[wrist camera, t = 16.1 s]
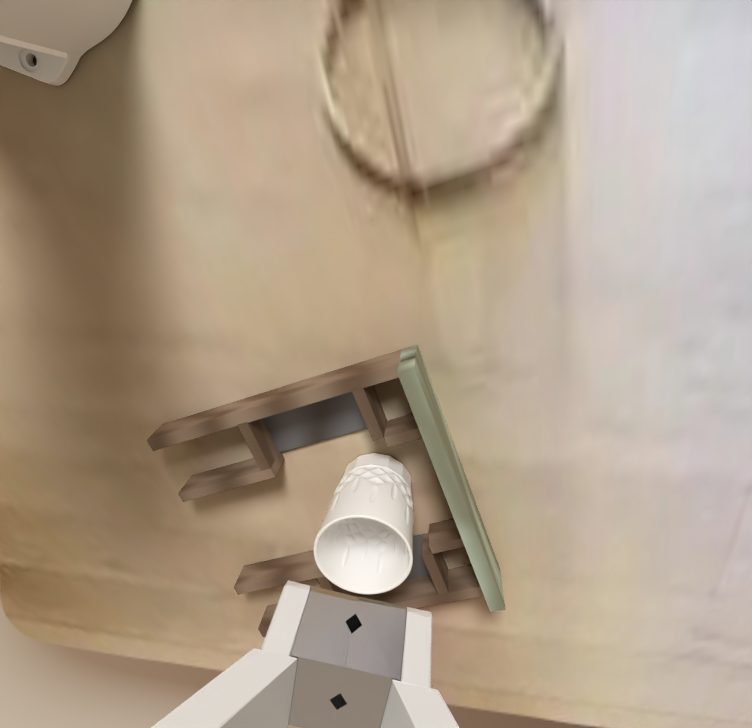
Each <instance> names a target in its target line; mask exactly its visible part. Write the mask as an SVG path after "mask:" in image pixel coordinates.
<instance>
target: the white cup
mask: <svg viewBox="0 0 752 728" xmlns="http://www.w3.org/2000/svg"><path fill="white" fill-rule="evenodd" d="M314 558H315V561H316V564H317V566H318V568H319V569H320V571H321V572H322V574H323V575H324V576H325V577H326V578H327V579H328V580H329V581H331V582H332V583H333V584H335V585H336V586H338V587H340V588H342V589H344V590H347V591H350V592H353V593H358V594H379V593H384V592H387V591H390V590H392V589H394V588H396V587H397V586H399V585H400V584H401V583H402V582H403V581H404V580H405V579H406V578H407V576H408V575H409V573H410V571H411V568H412V563H413V499H412V483H411V476H410V474H409V473H408V471H407V470H406V468H405V466H404V465H403V464H402V463H400V462H399V461H397V460H396V459H394V458H393V457H391V456H389V455H383V454H378V453H371V454H366V455H362V456H358V457H357V458H356V459H354V460H353V461H352V462H351V463H349V464H348V465H347V467H346V469H345V472H344V474H343V477H342V479H341V481H340V483H339V485H338V486H337V488H336V490H335V492H334V494H333V496H332V499H331V502H330V504H329V507H328V509H327V512H326V514H325V517H324V519H323V522H322V524H321V527H320V529H319V532H318V534H317V537H316V539H315V542H314Z"/></svg>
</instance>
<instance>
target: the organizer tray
mask: <svg viewBox="0 0 752 728" xmlns="http://www.w3.org/2000/svg"><path fill="white" fill-rule="evenodd" d="M395 378H399V379H400V382H401V384H402V387H403V389H404V392H405V395H406V397H407V400H408V402H409V405H410V407H411V410H412V413H413V414H410V415H407V416H403V417H400V418H396V419H392V420H389V421H387V419H386V417H385V414H384V412H383V409H382V407H381V404H380V402H379V400H378V397H377V395H376V392H375V390H374V387H373V385H375V384H379V383H382V382H385V381H389V380H392V379H395ZM235 426H238V427H239V429H240V431H241V433H242V435H243V437H244V439H245V441H246V443H247V445H248V447H249V449H250V451H251V453H252V454H253V456H254V458H253V459H249V460H246V461H242V462H239V463H235V464H232V465H228V466H224V467H221V468H217V469H214V470H210V471H207V472H203V473H199V474H196V475H192V476H191V478H190V479H189V480H188V482H187V483H186V484H185V486H184V487H183V488H182V489H181V491H180V492H179V493H178V494H179V496H180V497H181V499H182V501H183V502H185V501H189V500H192V499H196V498H200V497H204V496H207V495H211V494H215V493H219V492H222V491H226V490H230V489H234V488H237V487H241V486H245V485H249V484H252V483H256V482H260V481H264V480H267V479H271V478H275V477H276V475H277V473H278V471H279V469H280V467H281V465H282V463H283V461H284V457H283V455H282V453H281V452H283V451H287V450H290V449H294V448H297V447H301V446H305V445H308V444H312V443H315V442H319V441H322V440H326V439H330V438H333V437H337V436H340V435H344V434H348V433H351V432H355V431H358V430H362V429H365V428H368V430H369V433H370V435H371V437H372V440H377V439H381V438H384V439H385V442H386V444H387V447H391V446H395V445H399V444H402V443H406V442H410V441H414V440H417V439H421V438H423V441H424V443H425V446H426V448H427V451H428V454H429V456H430V459H431V461H432V464H433V466H434V469H435V472H436V474H437V477H438V479H439V482H440V484H441V487H442V490H443V492H444V495H445V497H446V500H447V502H448V505H449V507H450V510H451V513H452V515H453V518H454V519H451V520H447V521H442V522H438V523H433V524H430V528H429V533H427V534H423V535H418V536H414V537H413V563H412V568H411V571H410V573H409V575H408V576H407V578H406V579H405V580H404V581H403V582H402V583H401V584H400V585H399V586H397V587H396V588H394V589H392V590H390V591H387V592H384V593H379V594H358V593H353V592H350V591H347V590H344V589H342V588H340V587H338V586H336V585H335V584H333V583H332V582H331V581H329V580H328V579H327V578H326V577H325V576H324V575H323V574H322V572H321V571H320V569H319V568H318V566H317V564H316V561H315V558H314V550H313V551H309V552H304V553H300V554H295V555H291V556H286V557H282V558H277V559H273V560H269V561H264V562H260V563H255V564H251V565H246V566H244V567H243V569H242V571H241V573H240V575H239V578H238V580H237V582H236V584H235V586H234V589H235V590H236V592H237V594H238V595H239V594H244V593H248V592H253V591H258V590H263V589H267V588H272V587H277V586H282V585H285V584H286V583H287V581H288V580H289V581H293V582H301V581H305V580H310V579H315V578H317V580H318V582H319V584H320V585H321V587H322V588H323V589H327V590H331V591H335V592H339V593H343V594H347V595H351V596H356V597H363V598H368V599H373V600H377V601H382V602H387V603H392V604H397V605H402V606H406V607H410V608H415V609H416V608H422V607H427V606H433V605H438V604H443V603H449V602H454V601H460V600H465V599H470V598H476V597H481V596H484V597H485V600H486V602H487V605H488V608H489V610H490V612H494V611H499V610H505V603H504V596H503V588H502V581H501V573H500V568H499V565H498V563H497V560H496V557H495V554H494V552H493V549H492V546H491V544H490V541H489V538H488V535H487V533H486V530H485V527H484V525H483V522H482V519H481V516H480V514H479V511H478V508H477V506H476V503H475V500H474V497H473V495H472V492H471V489H470V487H469V484H468V481H467V478H466V476H465V473H464V470H463V468H462V465H461V462H460V459H459V457H458V454H457V451H456V449H455V446H454V443H453V440H452V438H451V435H450V432H449V430H448V427H447V424H446V421H445V419H444V416H443V413H442V411H441V408H440V405H439V402H438V400H437V397H436V394H435V392H434V389H433V386H432V384H431V381H430V378H429V375H428V373H427V370H426V367H425V365H424V362H423V359H422V356H421V354H420V351H419V348H418V346H417V345H415V346H412V347H409V348H406V349H402V350H399V351H396V352H393V353H390V354H386V355H383V356H380V357H377V358H374V359H370V360H367V361H364V362H361V363H358V364H354V365H351V366H348V367H345V368H342V369H338V370H335V371H332V372H329V373H326V374H322V375H319V376H316V377H313V378H309V379H306V380H303V381H300V382H297V383H293V384H290V385H287V386H284V387H281V388H277V389H274V390H271V391H268V392H265V393H261V394H258V395H255V396H252V397H249V398H245V399H242V400H239V401H236V402H233V403H229V404H226V405H223V406H220V407H217V408H213V409H210V410H207V411H204V412H201V413H197V414H194V415H191V416H188V417H185V418H181V419H178V420H175V421H172V422H169V423H165V424H163V425H162V426H161V427H160V428H159V429H158V430H157V431H156V432H155V433H154V434H153V435H152V436H151V437H149V438H148V439H147V441H148V443H149V445H150V446H151V448H152V450H153V451H155V450H158V449H162V448H165V447H168V446H172V445H175V444H178V443H182V442H185V441H188V440H192V439H195V438H198V437H202V436H205V435H208V434H212V433H215V432H218V431H222V430H225V429H228V428H232V427H235ZM462 547H465V549H466V551H467V554H468V556H469V559H470V561H471V564H472V565H469V566H464V567H459V568H454V569H449V570H448V568H447V565H446V563H445V561H444V558H443V556H442V553H441V552H443V551H448V550H453V549H458V548H462ZM276 607H277V604H275V605H270V606H267V607H266V610H265V613H264V615H263V618H262V620H261V623H260V626H259V628H258V629H259V631H260V633H261V634H262V636H263V637H266V634H267V631H268V629H269V626H270V623H271V621H272V618H273V615H274V612H275V610H276Z"/></svg>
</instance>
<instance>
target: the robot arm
mask: <svg viewBox="0 0 752 728" xmlns="http://www.w3.org/2000/svg"><path fill="white" fill-rule="evenodd" d="M131 2H132V0H0V65H1V66H4V67H6V68H9V69H11V70H14V71H16V72H19V73H21V74H24V75H26V76H29V77H31V78H34V79H36V80H39V81H41V82H44V83H47V84H50V85H54V86H59V85H62V84H64V83H65V82H66V81H67V80H68V78H69V77H70V75H71V74H72V72H73V71H74V69H75V67H76V65H77V63H78V61H79V59H80V57H81V56H82V55H83V54H84V53H85V52H86V51H88V50H89V49H90V48H92V47H93V46H95V45H96V44H98V43H99V42H101V41H103V40H104V39H105V38H106V37H108V36H109V35H110V34H111V33H112V32H113V31H114V30H115V29H116V27H117V26H118V25H119V24H120V22H121V21H122V19H123V18H124V16H125V15H126V13H127V11H128V9H129V7H130V5H131ZM34 56H35V57H36V59H37V64H36V66H35V65H34V63H33V57H34ZM431 655H432V614H431V612H429V611H424V610H419V609H415V608H410V607H406V606H402V605H397V604H392V603H387V602H382V601H377V600H373V599H368V598H363V597H356V596H351V595H347V594H343V593H339V592H335V591H331V590H327V589H323V588H319V587H315V586H309V585H305V584H301V583H297V582H293V581H289V580H288V581H287V583H286V584H285V586H284V588H283V591H282V593H281V596H280V599H279V602H278V604H277V607H276V610H275V612H274V615H273V618H272V621H271V623H270V626H269V629H268V631H267V634H266V637H265V640H264V642H263V645H262V648H261V649H255V648H253V649H252V650H250V651H249V652H248V653H247V654H245V655H244V656H243V657H241V658H240V659H239V660H238V661H236V662H235V663H234V664H232V665H231V666H230V667H229V668H227V669H226V670H225V671H223V672H222V673H221V674H219V675H218V676H217V677H216V678H214V679H213V680H212V681H211V682H209V683H208V684H207V685H205V686H204V687H203V688H201V689H200V690H199V691H198V692H196V693H195V694H194V695H192V696H191V697H190V698H189V699H187V700H186V701H185V702H183V703H182V704H181V705H180V706H178V707H177V708H176V709H174V710H173V711H172V712H170V713H169V714H168V715H167V716H165V717H164V718H163V719H161V720H160V721H159V722H158V723H156V724H155V725H154V726H152V727H151V728H287V727H288V725H293V726H298V727H303V728H459V726H458V724H457V723H456V721H455V719H454V717H453V715H452V714H451V712H450V710H449V708H448V706H447V705H446V703H445V701H444V699H443V698H442V696H441V694H440V692H439V690H436V689H432V688H431ZM333 726H334V727H333Z"/></svg>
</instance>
